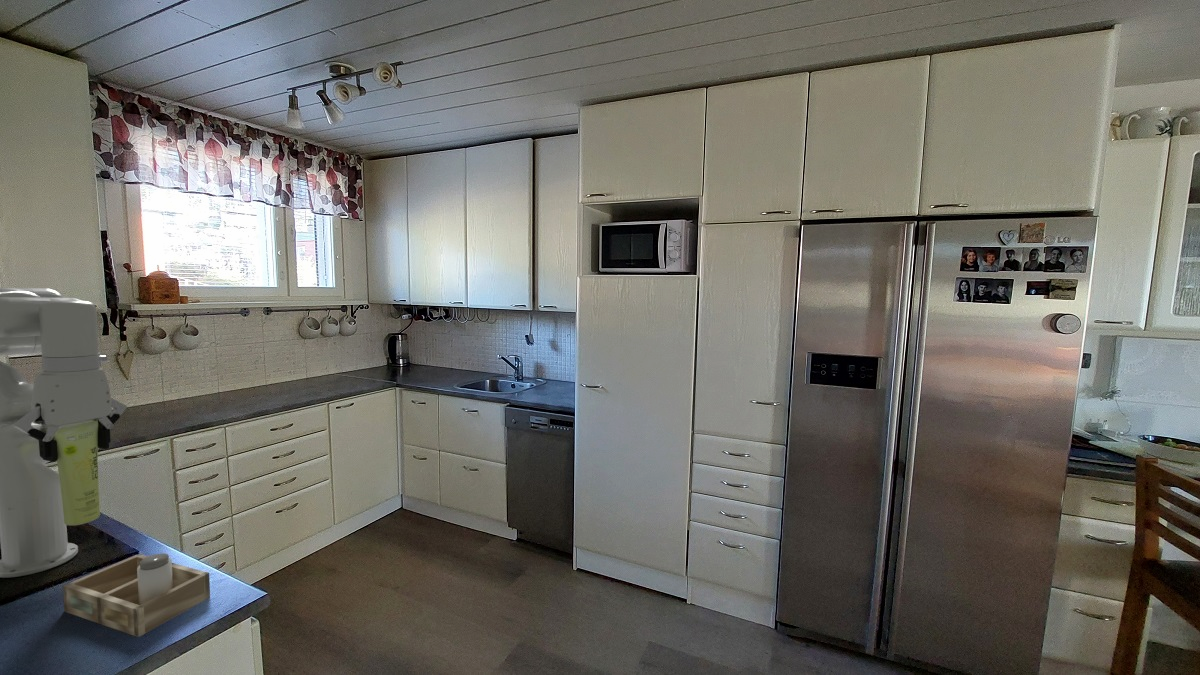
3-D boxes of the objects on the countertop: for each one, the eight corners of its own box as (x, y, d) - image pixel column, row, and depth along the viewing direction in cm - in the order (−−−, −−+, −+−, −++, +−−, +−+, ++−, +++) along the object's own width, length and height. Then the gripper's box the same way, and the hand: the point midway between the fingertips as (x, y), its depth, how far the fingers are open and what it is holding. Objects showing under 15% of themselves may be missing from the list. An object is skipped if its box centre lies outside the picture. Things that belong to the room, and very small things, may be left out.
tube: (95, 524, 97) (89, 427, 95) (58, 530, 94) (51, 430, 92) (103, 512, 101) (98, 420, 100) (68, 517, 99) (62, 422, 97)
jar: (132, 614, 92) (130, 563, 91) (162, 599, 96) (160, 550, 95) (150, 620, 90) (148, 568, 89) (179, 604, 95) (177, 555, 94)
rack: (63, 616, 92) (61, 586, 91) (140, 580, 103) (139, 553, 103) (137, 642, 86) (135, 610, 85) (210, 601, 98) (209, 573, 97)
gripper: (114, 357, 104) (118, 439, 106) (-7, 369, 88) (1, 465, 89) (138, 360, 102) (142, 443, 104) (20, 372, 85) (26, 471, 87)
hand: (77, 453), depth 96 cm, fingers closed on tube, 7 cm apart
